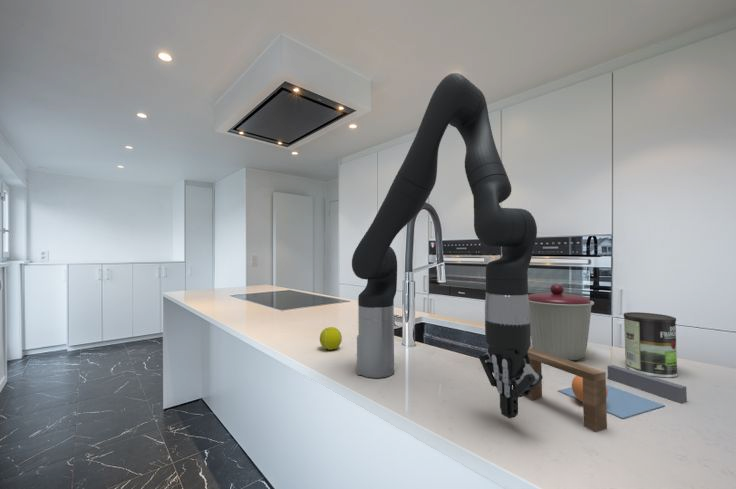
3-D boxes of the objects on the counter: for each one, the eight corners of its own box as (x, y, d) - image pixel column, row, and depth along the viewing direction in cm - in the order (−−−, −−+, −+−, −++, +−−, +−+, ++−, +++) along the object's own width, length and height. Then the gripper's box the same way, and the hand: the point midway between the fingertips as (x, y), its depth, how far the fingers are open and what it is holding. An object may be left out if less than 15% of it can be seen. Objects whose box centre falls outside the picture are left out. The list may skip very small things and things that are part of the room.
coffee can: (686, 374, 81) (684, 317, 81) (664, 380, 77) (662, 321, 77) (638, 361, 90) (637, 310, 91) (616, 367, 86) (614, 313, 87)
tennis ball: (323, 353, 100) (323, 330, 100) (317, 347, 106) (317, 326, 106) (344, 350, 103) (344, 328, 103) (337, 345, 109) (337, 324, 109)
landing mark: (622, 419, 59) (622, 418, 59) (558, 391, 71) (557, 390, 71) (664, 406, 64) (664, 405, 64) (597, 382, 76) (597, 381, 76)
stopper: (681, 403, 65) (680, 388, 65) (607, 378, 78) (607, 366, 78) (686, 401, 66) (686, 386, 66) (613, 377, 79) (612, 365, 79)
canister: (517, 357, 95) (515, 285, 96) (533, 343, 109) (531, 280, 109) (591, 371, 83) (589, 289, 84) (599, 354, 97) (597, 283, 98)
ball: (579, 381, 63) (599, 366, 65) (559, 382, 68) (579, 368, 70) (600, 411, 61) (621, 395, 63) (578, 410, 66) (598, 395, 68)
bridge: (595, 432, 55) (593, 374, 55) (523, 396, 69) (522, 350, 69) (607, 428, 56) (605, 372, 57) (534, 393, 70) (533, 348, 70)
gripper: (555, 323, 54) (557, 430, 53) (496, 310, 66) (498, 397, 65) (520, 328, 51) (523, 440, 50) (466, 313, 63) (467, 403, 63)
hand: (508, 415), depth 58 cm, fingers closed
